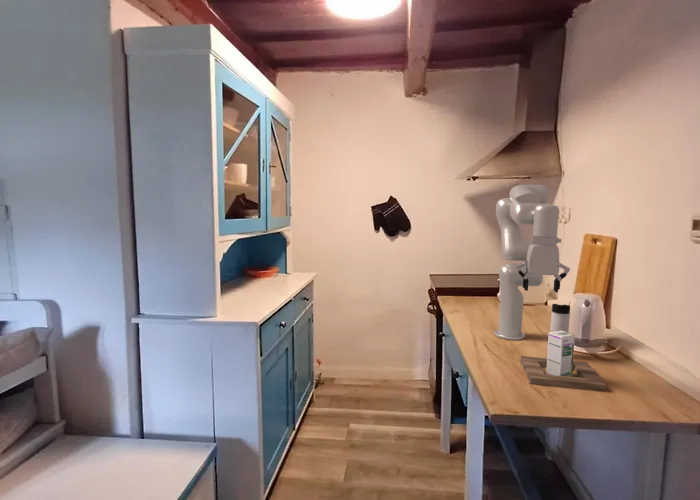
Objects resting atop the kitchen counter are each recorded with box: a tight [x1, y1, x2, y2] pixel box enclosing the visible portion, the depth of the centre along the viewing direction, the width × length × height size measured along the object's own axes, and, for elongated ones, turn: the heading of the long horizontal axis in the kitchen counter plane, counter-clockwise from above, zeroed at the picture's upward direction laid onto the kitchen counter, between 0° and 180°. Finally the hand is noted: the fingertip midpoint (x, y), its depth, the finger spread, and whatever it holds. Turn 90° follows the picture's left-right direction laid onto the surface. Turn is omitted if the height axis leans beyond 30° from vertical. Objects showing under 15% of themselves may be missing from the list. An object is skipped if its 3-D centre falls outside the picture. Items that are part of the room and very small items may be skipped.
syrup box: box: [546, 331, 575, 377], centre depth 147 cm, size 6×6×14 cm
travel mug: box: [549, 303, 571, 333], centre depth 166 cm, size 6×7×20 cm
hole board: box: [520, 355, 607, 392], centre depth 147 cm, size 20×22×2 cm
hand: (540, 290), depth 150 cm, fingers open, 9 cm apart
